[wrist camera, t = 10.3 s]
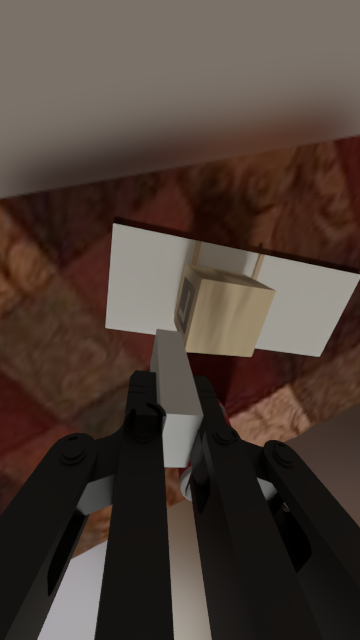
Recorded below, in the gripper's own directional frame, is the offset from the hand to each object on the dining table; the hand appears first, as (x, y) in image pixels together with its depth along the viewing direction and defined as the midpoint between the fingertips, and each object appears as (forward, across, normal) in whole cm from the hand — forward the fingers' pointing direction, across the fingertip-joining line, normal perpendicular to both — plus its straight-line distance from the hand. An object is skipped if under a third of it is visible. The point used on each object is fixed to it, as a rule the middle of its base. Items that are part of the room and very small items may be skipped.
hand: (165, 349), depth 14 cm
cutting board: (+14, +9, 0) cm, 16 cm away
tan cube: (+9, +2, 0) cm, 9 cm away
